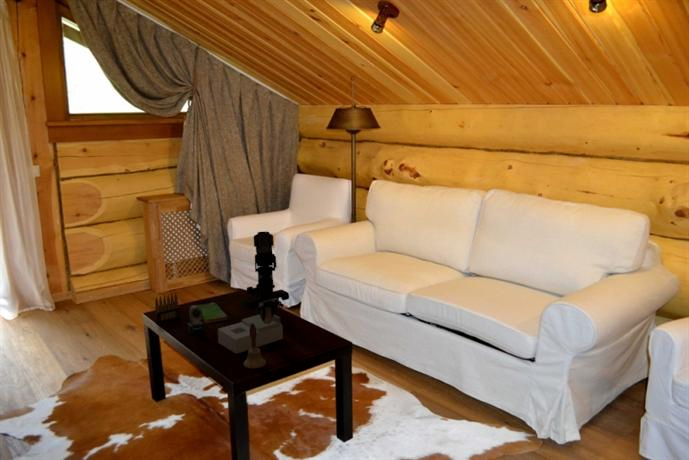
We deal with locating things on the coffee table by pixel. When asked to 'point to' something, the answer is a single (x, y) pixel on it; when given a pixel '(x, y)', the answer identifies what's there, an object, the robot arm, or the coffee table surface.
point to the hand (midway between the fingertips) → (267, 319)
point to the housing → (246, 337)
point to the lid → (259, 323)
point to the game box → (212, 313)
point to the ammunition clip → (166, 309)
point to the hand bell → (254, 352)
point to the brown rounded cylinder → (267, 316)
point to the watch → (195, 320)
